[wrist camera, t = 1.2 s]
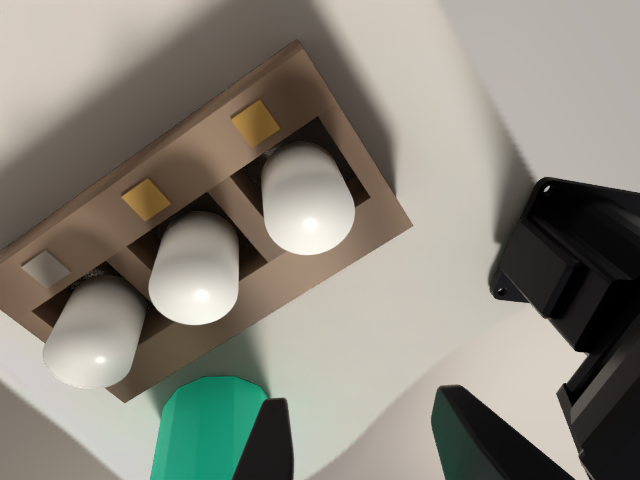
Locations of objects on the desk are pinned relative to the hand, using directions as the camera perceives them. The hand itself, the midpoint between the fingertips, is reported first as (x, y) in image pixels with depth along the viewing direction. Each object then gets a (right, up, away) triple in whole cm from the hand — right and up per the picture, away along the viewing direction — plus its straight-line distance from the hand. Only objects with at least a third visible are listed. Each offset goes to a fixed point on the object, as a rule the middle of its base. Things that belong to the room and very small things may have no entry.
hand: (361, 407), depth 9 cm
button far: (-10, 0, +11) cm, 15 cm away
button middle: (-5, +3, +11) cm, 12 cm away
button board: (-6, +4, +12) cm, 14 cm away
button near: (-1, +5, +10) cm, 11 cm away
